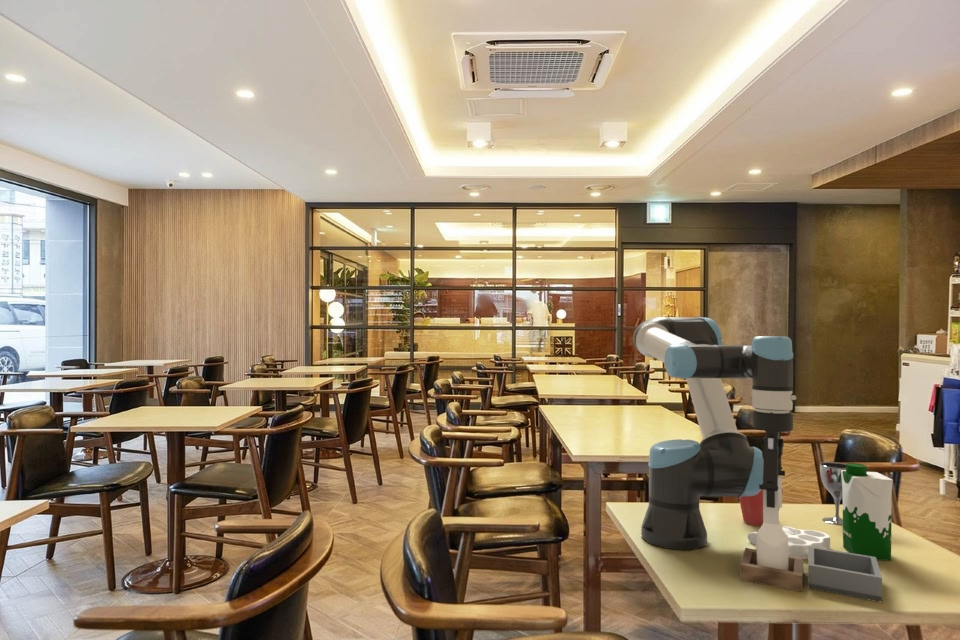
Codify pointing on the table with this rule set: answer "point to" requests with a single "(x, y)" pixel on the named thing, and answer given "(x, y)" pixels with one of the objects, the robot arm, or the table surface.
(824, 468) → the wine glass
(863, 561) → the tray
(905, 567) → the table surface
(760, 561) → the white tall rounded piece
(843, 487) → the milk carton
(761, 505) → the flower pot
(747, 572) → the holder
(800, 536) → the white brass knuckles
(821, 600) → the table surface
